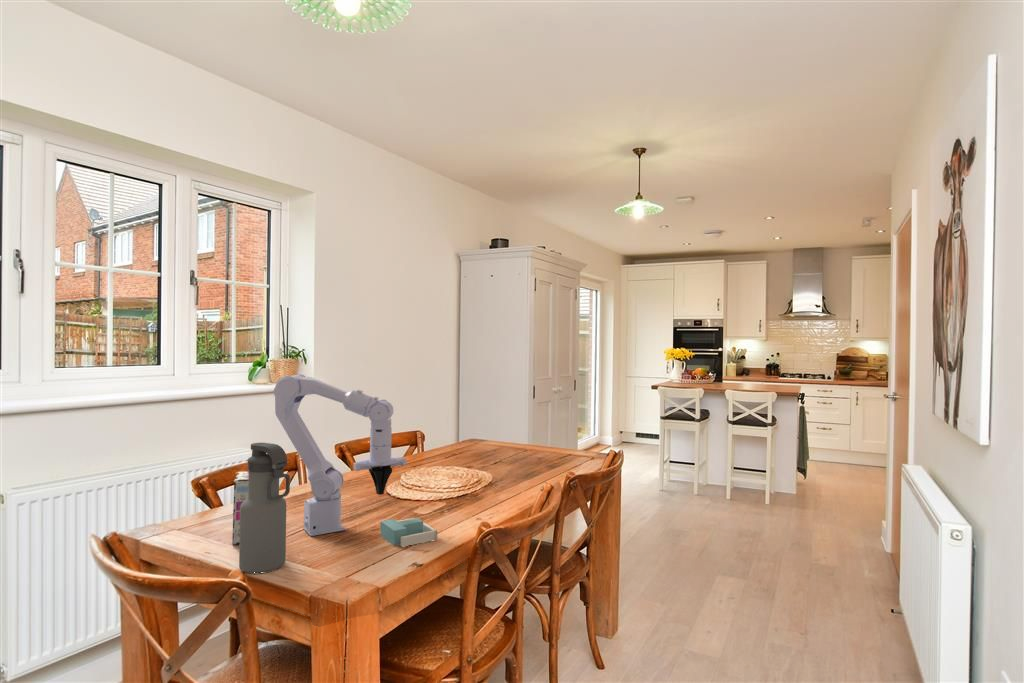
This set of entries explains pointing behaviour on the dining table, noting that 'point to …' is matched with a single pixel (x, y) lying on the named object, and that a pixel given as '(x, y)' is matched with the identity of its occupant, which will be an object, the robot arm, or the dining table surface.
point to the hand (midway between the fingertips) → (380, 493)
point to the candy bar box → (239, 502)
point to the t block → (400, 529)
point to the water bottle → (264, 511)
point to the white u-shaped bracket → (419, 536)
